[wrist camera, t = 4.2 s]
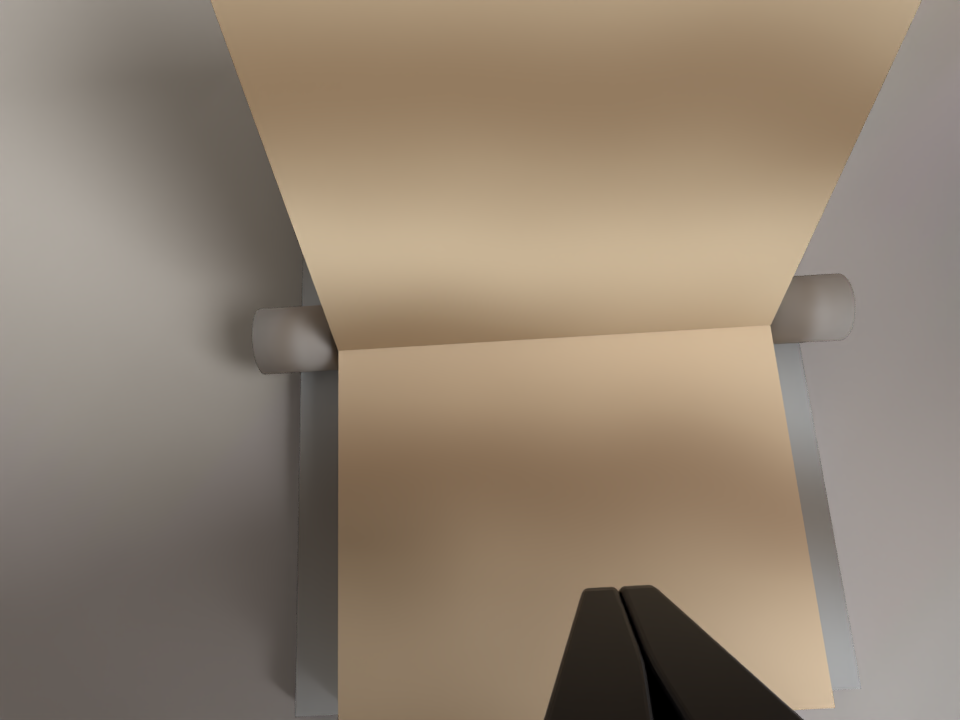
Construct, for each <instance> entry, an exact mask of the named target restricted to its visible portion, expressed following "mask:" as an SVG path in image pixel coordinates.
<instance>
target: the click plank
mask: <svg viewBox="0 0 960 720" xmlns="http://www.w3.org/2000/svg"><path fill="white" fill-rule="evenodd" d="M921 1H922V0H211V3H212V6H213V8H214V11H215V14H216V17H217V19H218V22H219V25H220V28H221V30H222V33H223V36H224V39H225V41H226V44H227V47H228V50H229V52H230V55H231V58H232V61H233V63H234V66H235V69H236V72H237V74H238V77H239V80H240V83H241V85H242V88H243V91H244V94H245V96H246V99H247V102H248V105H249V107H250V110H251V113H252V115H253V118H254V121H255V124H256V126H257V129H258V132H259V135H260V137H261V140H262V143H263V146H264V148H265V151H266V154H267V157H268V159H269V162H270V165H271V168H272V170H273V173H274V176H275V179H276V181H277V184H278V187H279V190H280V192H281V195H282V198H283V201H284V203H285V206H286V209H287V212H288V214H289V217H290V220H291V223H292V225H293V228H294V231H295V234H296V236H297V239H298V242H299V244H300V247H301V250H302V253H303V255H304V258H305V261H306V264H307V266H308V269H309V272H310V275H311V277H312V280H313V283H314V286H315V288H316V291H317V294H318V297H319V299H320V302H321V305H322V308H323V310H324V313H325V316H326V319H327V321H328V324H329V327H330V330H331V332H332V335H333V338H334V341H335V343H336V346H337V349H338V351H344V350H360V349H377V348H394V347H411V346H427V345H444V344H461V343H478V342H495V341H511V340H528V339H545V338H562V337H579V336H595V335H612V334H629V333H646V332H663V331H679V330H696V329H713V328H730V327H746V326H763V325H771V323H772V321H773V319H774V317H775V315H776V313H777V311H778V308H779V306H780V304H781V302H782V300H783V298H784V295H785V293H786V291H787V289H788V287H789V285H790V283H791V280H792V278H793V276H794V274H795V272H796V270H797V268H798V265H799V263H800V261H801V259H802V257H803V255H804V252H805V250H806V248H807V246H808V244H809V242H810V240H811V237H812V235H813V233H814V231H815V229H816V227H817V224H818V222H819V220H820V218H821V216H822V214H823V212H824V209H825V207H826V205H827V203H828V201H829V199H830V197H831V194H832V192H833V190H834V188H835V186H836V184H837V181H838V179H839V177H840V175H841V173H842V171H843V169H844V166H845V164H846V162H847V160H848V158H849V156H850V153H851V151H852V149H853V147H854V145H855V143H856V141H857V138H858V136H859V134H860V132H861V130H862V128H863V126H864V123H865V121H866V119H867V117H868V115H869V113H870V110H871V108H872V106H873V104H874V102H875V100H876V98H877V95H878V93H879V91H880V89H881V87H882V85H883V83H884V80H885V78H886V76H887V74H888V72H889V70H890V67H891V65H892V63H893V61H894V59H895V57H896V55H897V52H898V50H899V48H900V46H901V44H902V42H903V39H904V37H905V35H906V33H907V31H908V29H909V27H910V24H911V22H912V20H913V18H914V16H915V14H916V12H917V9H918V7H919V5H920V3H921Z"/></svg>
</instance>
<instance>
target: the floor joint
mask: <svg viewBox="0 0 960 720" xmlns="http://www.w3.org/2000/svg"><path fill="white" fill-rule="evenodd" d="M854 319H855V298H854V293H853V289H852V287H851V284H850V282H849V281H848V279H847V278H846V277H845V276H844V275H842V274H824V275H807V276H793V278H792V280H791V283H790V285H789V287H788V289H787V291H786V293H785V295H784V298H783V300H782V302H781V304H780V306H779V308H778V311H777V313H776V315H775V317H774V319H773V321H772V323H771V325H763V326H746V327H730V328H713V329H696V330H679V331H663V332H646V333H629V334H612V335H595V336H579V337H562V338H545V339H528V340H511V341H495V342H478V343H461V344H444V345H427V346H411V347H394V348H377V349H360V350H344V351H338V349H337V346H336V343H335V341H334V338H333V335H332V332H331V330H330V327H329V324H328V321H327V319H326V316H325V313H324V310H323V308H322V305H321V302H320V299H319V297H318V294H317V291H316V288H315V286H314V283H313V280H312V277H311V275H310V272H309V269H308V266H307V264H306V261H305V258H304V255H303V272H302V306H297V307H281V308H264V309H258V310H257V311H256V313H255V316H254V319H253V325H252V345H253V352H254V357H255V361H256V364H257V366H258V368H259V370H260V372H261V373H263V374H278V373H295V372H301V395H300V457H299V518H298V580H297V641H296V703H295V717H307V716H327V715H338V720H544V717H545V714H546V710H547V707H548V704H549V700H550V697H551V694H552V690H553V687H554V684H555V680H556V677H557V674H558V670H559V667H560V664H561V660H562V657H563V653H564V650H565V647H566V643H567V640H568V637H569V633H570V630H571V627H572V623H573V620H574V617H575V613H576V610H577V607H578V603H579V600H580V597H581V594H582V591H583V590H584V589H586V588H598V587H614V588H616V589H617V590H618V591H619V589H620V588H621V587H623V586H634V585H652V586H654V587H656V588H657V589H659V590H660V591H661V592H662V593H663V594H664V595H665V596H666V597H668V598H669V599H670V600H671V601H672V602H673V603H674V604H675V605H676V606H678V607H679V608H680V609H681V610H682V611H683V612H684V613H685V614H686V615H688V616H689V617H690V618H691V619H692V620H693V621H694V622H695V623H696V624H698V625H699V626H700V627H701V628H702V629H703V630H704V631H705V632H707V633H708V634H709V635H710V636H711V637H712V638H713V639H714V640H715V641H717V642H718V643H719V644H720V645H721V646H722V647H723V648H724V649H725V650H727V651H728V652H729V653H730V654H731V655H732V656H733V657H734V658H736V659H737V660H738V661H739V662H740V663H741V664H742V665H743V666H744V667H746V668H747V669H748V670H749V671H750V672H751V673H752V674H753V675H754V676H756V677H757V678H758V679H759V680H760V681H761V682H762V683H763V684H765V685H766V686H767V687H768V688H769V689H770V690H771V691H772V692H773V693H775V694H776V695H777V696H778V697H779V698H780V699H781V700H782V701H783V702H785V703H786V704H787V705H788V706H789V707H790V708H791V709H792V710H803V709H823V708H835V704H834V698H833V692H832V690H847V689H861V684H860V678H859V673H858V667H857V662H856V656H855V650H854V645H853V639H852V634H851V628H850V623H849V617H848V612H847V606H846V600H845V595H844V589H843V584H842V578H841V573H840V567H839V562H838V556H837V550H836V545H835V539H834V534H833V528H832V523H831V517H830V512H829V506H828V500H827V495H826V489H825V484H824V478H823V473H822V467H821V461H820V456H819V450H818V445H817V439H816V434H815V428H814V423H813V417H812V411H811V406H810V400H809V395H808V389H807V384H806V378H805V373H804V367H803V361H802V356H801V350H800V345H799V343H803V342H819V341H836V340H843V339H845V338H846V337H847V336H848V335H849V334H850V332H851V330H852V327H853V324H854Z"/></svg>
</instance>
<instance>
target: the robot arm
mask: <svg viewBox="0 0 960 720" xmlns="http://www.w3.org/2000/svg"><path fill="white" fill-rule="evenodd" d="M544 720H804V719H802V718H801V717H800V716H799V715H798V714H797V713H796V712H795V711H794V710H792V709H791V708H790V707H789V706H788V705H787V704H786V703H785V702H783V701H782V700H781V699H780V698H779V697H778V696H777V695H776V694H775V693H773V692H772V691H771V690H770V689H769V688H768V687H767V686H766V685H765V684H763V683H762V682H761V681H760V680H759V679H758V678H757V677H756V676H754V675H753V674H752V673H751V672H750V671H749V670H748V669H747V668H746V667H744V666H743V665H742V664H741V663H740V662H739V661H738V660H737V659H736V658H734V657H733V656H732V655H731V654H730V653H729V652H728V651H727V650H725V649H724V648H723V647H722V646H721V645H720V644H719V643H718V642H717V641H715V640H714V639H713V638H712V637H711V636H710V635H709V634H708V633H707V632H705V631H704V630H703V629H702V628H701V627H700V626H699V625H698V624H696V623H695V622H694V621H693V620H692V619H691V618H690V617H689V616H688V615H686V614H685V613H684V612H683V611H682V610H681V609H680V608H679V607H678V606H676V605H675V604H674V603H673V602H672V601H671V600H670V599H669V598H668V597H666V596H665V595H664V594H663V593H662V592H661V591H660V590H659V589H657V588H656V587H654V586H652V585H634V586H623V587H621V588H620V589H619V591H618V590H617V589H616V588H614V587H598V588H586V589H584V590H583V591H582V594H581V597H580V600H579V603H578V607H577V610H576V613H575V617H574V620H573V623H572V627H571V630H570V633H569V637H568V640H567V643H566V647H565V650H564V653H563V657H562V660H561V664H560V667H559V670H558V674H557V677H556V680H555V684H554V687H553V690H552V694H551V697H550V700H549V704H548V707H547V710H546V714H545V717H544Z"/></svg>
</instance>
